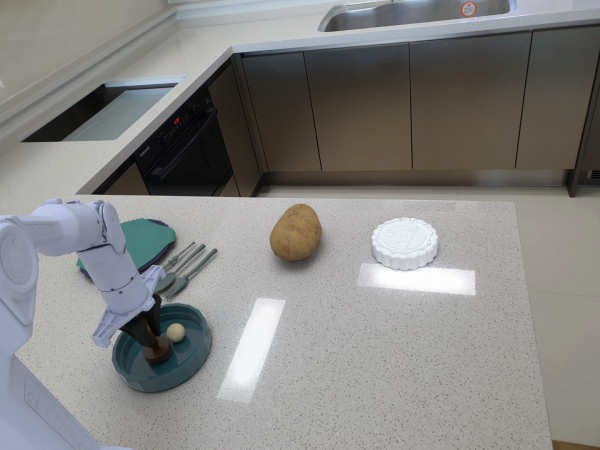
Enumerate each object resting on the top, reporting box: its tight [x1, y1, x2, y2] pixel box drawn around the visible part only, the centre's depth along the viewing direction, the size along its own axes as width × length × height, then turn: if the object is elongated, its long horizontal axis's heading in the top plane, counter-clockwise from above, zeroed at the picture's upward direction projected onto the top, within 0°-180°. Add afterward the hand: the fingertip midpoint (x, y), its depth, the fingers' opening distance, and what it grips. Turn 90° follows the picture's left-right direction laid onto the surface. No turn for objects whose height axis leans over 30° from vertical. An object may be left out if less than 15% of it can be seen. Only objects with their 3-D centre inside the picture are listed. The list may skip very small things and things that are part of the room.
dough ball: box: [166, 323, 185, 342], centre depth 76 cm, size 3×3×3 cm
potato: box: [269, 203, 323, 262], centre depth 88 cm, size 10×14×8 cm
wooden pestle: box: [137, 315, 172, 364], centre depth 72 cm, size 4×4×9 cm
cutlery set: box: [75, 217, 218, 300], centre depth 96 cm, size 20×30×2 cm, turn 56°
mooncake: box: [370, 216, 439, 272], centre depth 85 cm, size 12×12×4 cm
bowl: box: [111, 302, 213, 393], centre depth 74 cm, size 15×15×4 cm
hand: (151, 339), depth 72 cm, fingers closed on wooden pestle
